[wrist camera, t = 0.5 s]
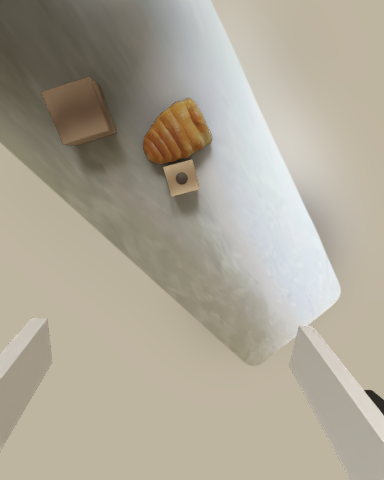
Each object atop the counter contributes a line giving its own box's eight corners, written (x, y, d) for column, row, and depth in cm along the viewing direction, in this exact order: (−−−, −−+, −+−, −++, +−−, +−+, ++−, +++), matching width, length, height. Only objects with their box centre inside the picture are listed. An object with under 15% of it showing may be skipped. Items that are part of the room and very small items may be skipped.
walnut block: (57, 100, 35) (40, 92, 30) (99, 86, 34) (89, 76, 30) (76, 145, 36) (63, 144, 32) (116, 133, 36) (108, 129, 32)
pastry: (160, 175, 38) (158, 178, 34) (132, 133, 36) (127, 131, 32) (215, 139, 37) (219, 138, 33) (190, 93, 35) (191, 87, 31)
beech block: (164, 166, 38) (163, 167, 34) (190, 159, 38) (192, 159, 34) (171, 192, 39) (171, 196, 35) (197, 186, 39) (199, 189, 35)
